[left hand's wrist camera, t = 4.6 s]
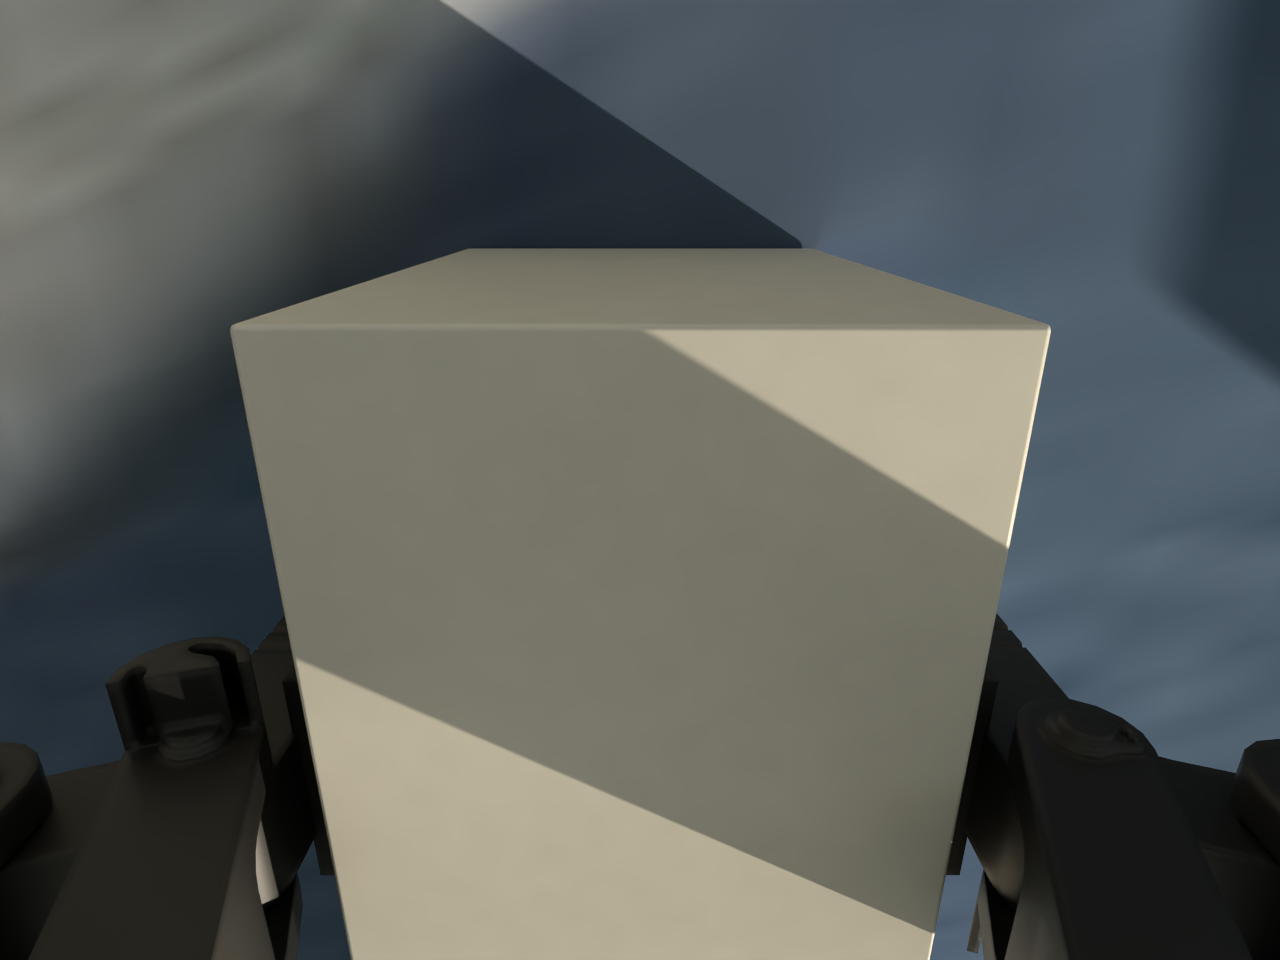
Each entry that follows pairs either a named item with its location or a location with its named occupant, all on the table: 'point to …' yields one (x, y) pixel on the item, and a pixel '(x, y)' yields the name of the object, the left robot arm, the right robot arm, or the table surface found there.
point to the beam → (640, 594)
